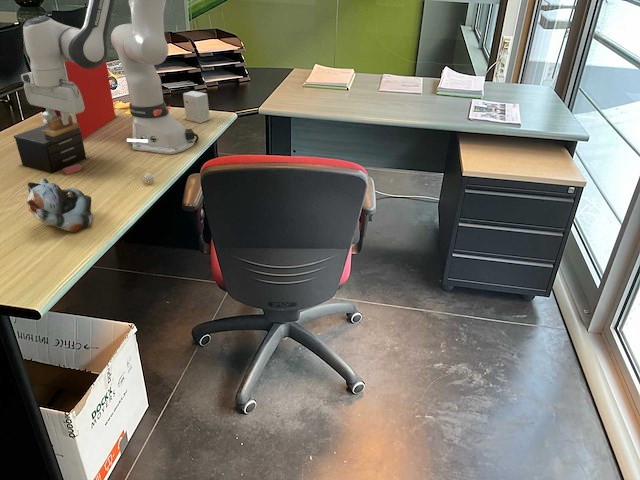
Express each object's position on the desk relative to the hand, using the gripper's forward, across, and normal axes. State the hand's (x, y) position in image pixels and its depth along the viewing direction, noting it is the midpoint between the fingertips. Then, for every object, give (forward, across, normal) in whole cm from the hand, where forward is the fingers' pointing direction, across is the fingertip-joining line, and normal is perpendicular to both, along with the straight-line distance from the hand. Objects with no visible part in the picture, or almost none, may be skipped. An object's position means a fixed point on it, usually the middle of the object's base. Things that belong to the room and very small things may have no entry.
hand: (60, 123), depth 164 cm
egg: (+13, -31, -3) cm, 34 cm away
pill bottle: (+14, +24, -17) cm, 33 cm away
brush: (+4, 0, 0) cm, 4 cm away
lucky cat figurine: (+15, -28, +27) cm, 41 cm away
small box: (+15, -6, -59) cm, 61 cm away
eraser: (+15, -3, +2) cm, 15 cm away
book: (+15, +24, -32) cm, 43 cm away
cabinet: (+15, +8, -1) cm, 17 cm away
